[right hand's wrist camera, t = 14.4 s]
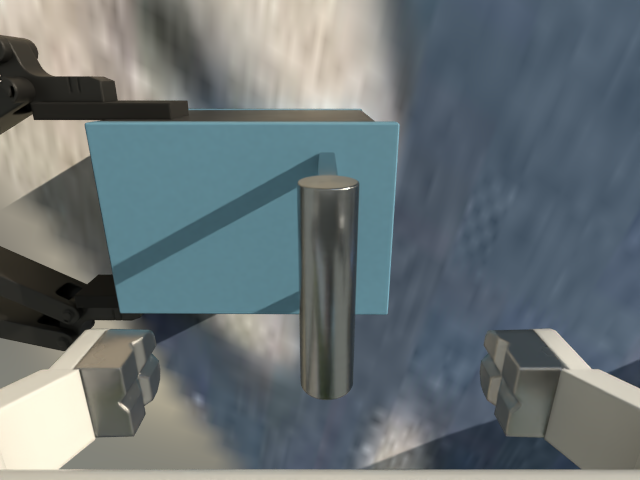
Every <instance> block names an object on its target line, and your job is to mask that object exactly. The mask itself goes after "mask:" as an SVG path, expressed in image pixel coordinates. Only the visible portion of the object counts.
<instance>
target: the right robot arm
mask: <svg viewBox="0 0 640 480" xmlns="http://www.w3.org/2000/svg"><path fill="white" fill-rule="evenodd" d="M155 347H156V341H155V336H154V333H153V332H152V331H151V330H134V329H89V330H85V331H84V332H83V333H82V334H81V335H80V336H79V337H78V338H77V339H76V340H75V341H74V343H73V344H72V345H71V346H70V347H69V348H68V349H67V350H66V351H65V352H64V353H63V354H62V355H61V356H60V357H59V358H58V359H57V360H56V362H55V363H54V364H53V365H52V366H51V367H50V368H49V369H41V370H39V371H37V372H35V373H32V374H30V375H28V376H26V377H24V378H22V379H20V380H17V381H15V382H13V383H11V384H9V385H7V386H5V387H2V388H0V480H640V388H637V387H635V386H633V385H631V384H629V383H627V382H625V381H622V380H620V379H618V378H616V377H614V376H612V375H610V374H608V373H605V372H603V371H601V370H599V369H591V368H590V367H589V366H588V365H587V364H586V363H585V362H584V360H583V359H582V358H581V357H580V356H579V355H578V354H577V353H576V352H575V351H574V350H573V349H572V348H571V347H570V346H569V345H568V344H567V342H566V341H565V340H564V339H563V338H562V337H561V336H560V335H559V334H558V333H557V332H556V331H555V330H552V329H529V330H489V331H487V334H486V336H485V340H484V347H485V348H486V350H487V352H488V354H487V355H486V356H485V357H484V358H483V359H482V360H481V366H480V381H481V387H482V390H483V393H484V395H485V397H486V399H487V400H488V401H489V402H491V403H492V404H493V405H495V406H496V408H495V416H496V418H497V420H498V422H499V424H500V426H501V428H502V429H503V431H504V433H505V435H506V436H511V437H545V440H546V441H547V442H549V443H550V444H551V445H552V446H554V447H555V448H556V449H557V450H558V451H560V452H561V453H562V454H563V455H565V456H566V457H567V458H568V459H570V460H571V461H572V462H573V463H575V464H576V465H577V466H578V467H579V468H581V469H472V470H471V469H470V470H262V469H211V470H210V469H206V470H205V469H202V470H201V469H198V470H197V469H185V470H184V469H182V470H181V469H180V470H179V469H177V470H176V469H175V470H174V469H164V470H163V469H156V470H155V469H154V470H153V469H152V470H151V469H150V470H149V469H141V470H140V469H59V468H61V467H62V466H63V465H64V464H66V463H67V462H68V461H69V460H71V459H72V458H73V457H74V456H76V455H77V454H78V453H79V452H80V451H82V450H83V449H84V448H85V447H87V446H88V445H89V444H90V443H92V442H93V441H94V440H95V437H128V436H134V435H135V433H136V431H137V429H138V428H139V426H140V424H141V422H142V420H143V418H144V416H145V408H144V406H145V405H146V404H148V403H149V402H151V401H152V400H153V399H154V397H155V395H156V393H157V390H158V386H159V381H160V365H159V360H158V359H157V358H156V357H155V356H154V355H153V354H152V352H153V350H154V348H155Z"/></svg>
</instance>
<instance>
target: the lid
mask: <svg viewBox="0 0 640 480" xmlns="http://www.w3.org/2000/svg"><path fill="white" fill-rule="evenodd" d="M85 129H86V134H87V140H88V145H89V150H90V156H91V161H92V166H93V172H94V177H95V182H96V188H97V193H98V198H99V204H100V209H101V214H102V219H103V225H104V230H105V235H106V241H107V246H108V251H109V257H110V262H111V267H112V273H113V278H114V283H115V289H116V294H117V299H118V305H119V310H120V313H168V314H299V319H300V370H301V386H302V388H303V390H304V391H305V392H306V393H307V394H308V395H310V396H312V397H314V398H317V399H322V400H333V399H337V398H340V397H342V396H344V395H346V394H347V393H348V392H349V391H350V390H351V388H352V386H353V366H354V336H355V314H372V315H386V314H387V313H388V299H389V283H390V267H391V251H392V235H393V220H394V204H395V188H396V172H397V156H398V140H399V123H397V122H144V121H94V122H89V123H85Z"/></svg>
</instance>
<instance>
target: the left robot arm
mask: <svg viewBox="0 0 640 480" xmlns="http://www.w3.org/2000/svg"><path fill="white" fill-rule="evenodd" d="M37 59H38V50H37V48H36V46H35V44H34V43H33V42H31V41H30V40H28V39H25V38H18V37H11V36H3V35H0V75H1V76H0V80H2V81H1V82H0V134H2V133H4V132H5V131H7V130H8V129H10V128H11V127H13V126H15V125H16V124H18V123H19V122H21V121H23V120H24V119H26V118H27V117H29V116H30V115H32V114H33V117H34V120H106V119H176V118H180V117H184V116H188V115H189V111H188V101H118V100H117V94H116V88H115V81H113V80H110V79H108V78H105V77H55V76H52V75H49V74H48V73H46V72H45V71H44V70H43V69H42V67H41V66H40V64H39V62H38V60H37ZM142 314H143V313H120V310H119V305H118V299H117V294H116V289H115V283H114V278H113V275H98V276H96V277H95V278H94V279H93V280H92V281H91V282H89V283H88V284H85V283H83V282H80V281H78V280H76V279H74V278H71V277H69V276H67V275H65V274H62V273H60V272H58V271H55V270H53V269H51V268H49V267H46V266H44V265H42V264H39V263H37V262H35V261H33V260H30V259H28V258H26V257H24V256H21V255H19V254H17V253H14V252H12V251H10V250H8V249H5V248H3V247H1V246H0V338H4V339H9V340H13V341H18V342H23V343H28V344H32V345H37V346H42V347H47V348H51V349H56V350H61V351H66V350H67V349H68V348H69V347H70V346H71V345H72V344H73V343H74V341H75V340H76V339H77V338H78V337H79V336H80V335H81V334H82V333H83V332H84V331H85V330H89V329H91V328H92V327H93V326H94V323H95V320H134V319H137V318H140V317H141V316H142Z"/></svg>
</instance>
